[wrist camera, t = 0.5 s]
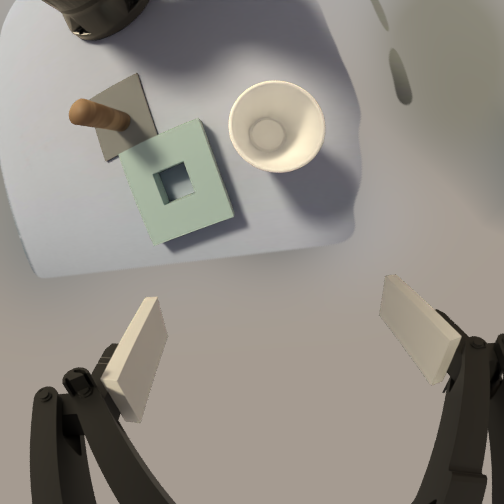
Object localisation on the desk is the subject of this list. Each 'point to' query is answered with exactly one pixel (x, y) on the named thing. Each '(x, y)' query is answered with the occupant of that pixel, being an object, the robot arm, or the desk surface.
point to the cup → (276, 126)
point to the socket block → (200, 173)
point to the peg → (98, 116)
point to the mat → (135, 105)
